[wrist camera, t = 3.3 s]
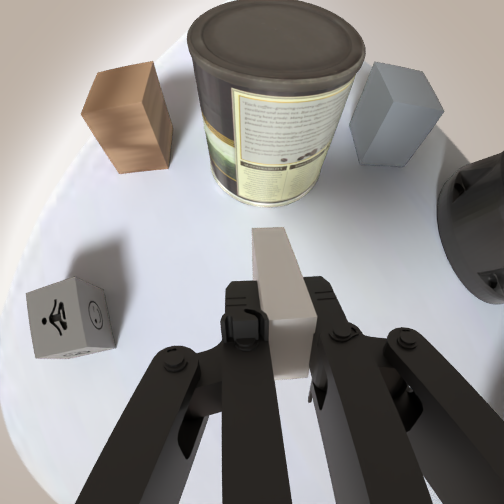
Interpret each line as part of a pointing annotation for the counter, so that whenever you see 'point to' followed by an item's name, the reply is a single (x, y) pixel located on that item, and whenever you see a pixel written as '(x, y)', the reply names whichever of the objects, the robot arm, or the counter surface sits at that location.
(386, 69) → the slate-grey block
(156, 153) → the walnut block
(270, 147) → the coffee can
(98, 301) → the dice cube
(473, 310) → the counter surface
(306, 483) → the counter surface
